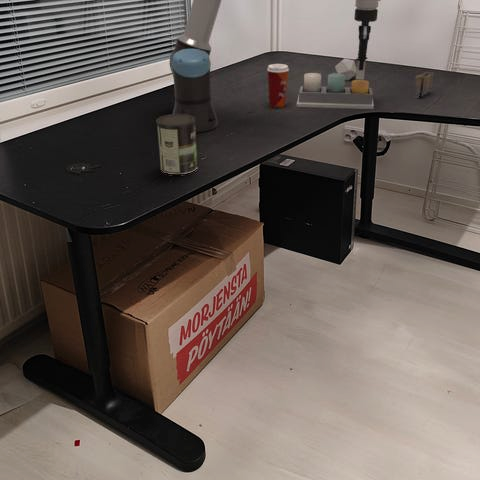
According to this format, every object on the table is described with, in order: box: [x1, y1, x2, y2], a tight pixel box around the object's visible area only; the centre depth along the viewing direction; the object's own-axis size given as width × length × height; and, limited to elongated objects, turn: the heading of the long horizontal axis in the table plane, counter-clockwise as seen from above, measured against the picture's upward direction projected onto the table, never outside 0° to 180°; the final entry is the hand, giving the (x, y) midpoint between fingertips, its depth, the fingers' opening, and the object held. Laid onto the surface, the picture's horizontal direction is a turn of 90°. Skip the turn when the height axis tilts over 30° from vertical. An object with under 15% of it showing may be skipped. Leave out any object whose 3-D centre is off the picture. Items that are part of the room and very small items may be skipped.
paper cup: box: [266, 63, 290, 108], centre depth 215 cm, size 8×8×14 cm
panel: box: [296, 85, 375, 110], centre depth 219 cm, size 27×13×4 cm, turn 82°
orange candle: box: [351, 79, 370, 94], centre depth 216 cm, size 6×6×6 cm
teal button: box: [327, 72, 346, 93], centre depth 217 cm, size 6×6×6 cm
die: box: [334, 58, 357, 82], centre depth 247 cm, size 8×9×10 cm
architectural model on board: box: [412, 71, 434, 97], centre depth 225 cm, size 11×3×10 cm, turn 143°
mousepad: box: [66, 162, 102, 175], centre depth 168 cm, size 9×8×1 cm
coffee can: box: [155, 113, 199, 174], centre depth 164 cm, size 10×10×14 cm
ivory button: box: [303, 72, 322, 92], centre depth 218 cm, size 6×6×6 cm
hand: (359, 78), depth 214 cm, fingers closed
